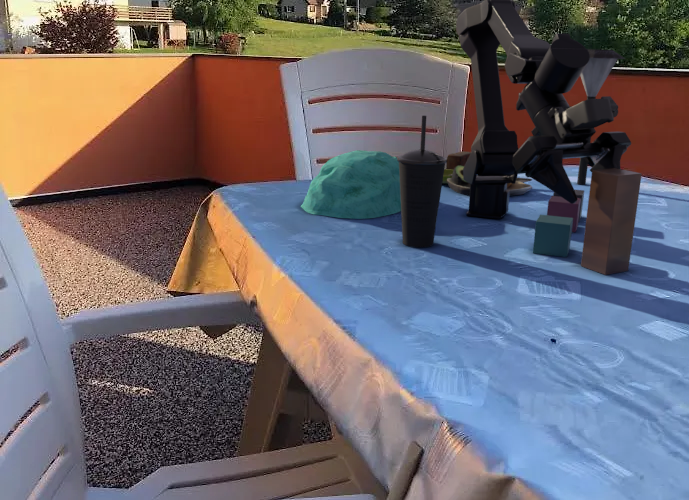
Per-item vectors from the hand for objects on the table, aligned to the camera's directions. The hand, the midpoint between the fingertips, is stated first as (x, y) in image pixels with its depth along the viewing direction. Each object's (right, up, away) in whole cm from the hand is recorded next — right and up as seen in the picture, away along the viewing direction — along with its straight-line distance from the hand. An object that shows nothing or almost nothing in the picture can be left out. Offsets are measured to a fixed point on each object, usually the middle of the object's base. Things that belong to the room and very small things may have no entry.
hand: (598, 199), depth 101 cm
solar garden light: (+19, +8, +63) cm, 66 cm away
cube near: (-4, -7, +9) cm, 12 cm away
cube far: (+5, -1, +30) cm, 31 cm away
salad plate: (-5, +6, +55) cm, 55 cm away
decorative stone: (-33, +2, +40) cm, 52 cm away
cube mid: (+2, -3, +23) cm, 23 cm away
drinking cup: (-25, -6, +12) cm, 28 cm away
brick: (-7, +12, +76) cm, 78 cm away
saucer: (-12, +9, +62) cm, 64 cm away
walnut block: (+1, -10, +1) cm, 10 cm away
